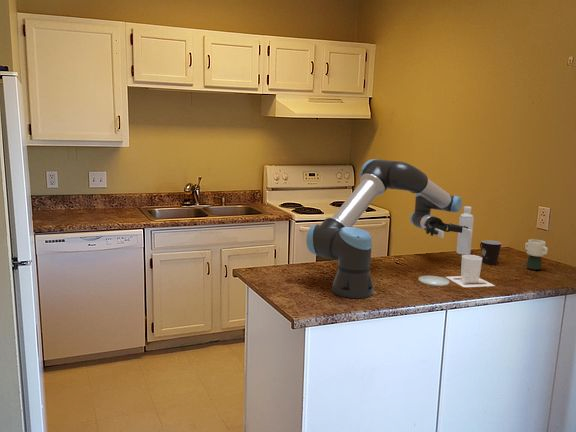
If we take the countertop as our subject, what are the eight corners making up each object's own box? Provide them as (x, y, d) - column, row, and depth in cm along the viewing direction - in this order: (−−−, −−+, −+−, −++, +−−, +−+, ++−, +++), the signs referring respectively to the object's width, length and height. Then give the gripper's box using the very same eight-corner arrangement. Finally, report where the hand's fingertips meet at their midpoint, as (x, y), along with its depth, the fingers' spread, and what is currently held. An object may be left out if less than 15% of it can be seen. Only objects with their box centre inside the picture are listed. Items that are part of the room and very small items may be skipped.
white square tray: (464, 287, 201) (464, 287, 201) (445, 277, 214) (445, 276, 214) (495, 286, 204) (495, 285, 204) (474, 275, 218) (474, 275, 217)
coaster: (427, 286, 200) (427, 285, 200) (413, 277, 212) (413, 276, 212) (455, 285, 203) (455, 283, 203) (439, 276, 215) (439, 275, 215)
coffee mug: (500, 266, 234) (503, 245, 232) (481, 264, 236) (483, 243, 234) (496, 260, 245) (498, 239, 244) (477, 258, 247) (479, 238, 245)
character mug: (549, 271, 229) (553, 243, 226) (539, 273, 225) (543, 244, 223) (527, 265, 238) (531, 237, 236) (517, 266, 234) (521, 239, 232)
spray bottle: (455, 250, 261) (459, 202, 256) (468, 251, 260) (473, 203, 256) (457, 254, 254) (462, 204, 250) (471, 255, 253) (476, 205, 249)
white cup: (456, 280, 209) (458, 256, 207) (464, 276, 215) (466, 253, 213) (475, 285, 204) (477, 260, 202) (483, 281, 209) (485, 257, 208)
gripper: (455, 231, 242) (482, 242, 222) (406, 232, 236) (430, 243, 216) (456, 215, 241) (484, 225, 220) (408, 216, 235) (431, 226, 214)
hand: (457, 234), depth 218 cm, fingers open, 13 cm apart
